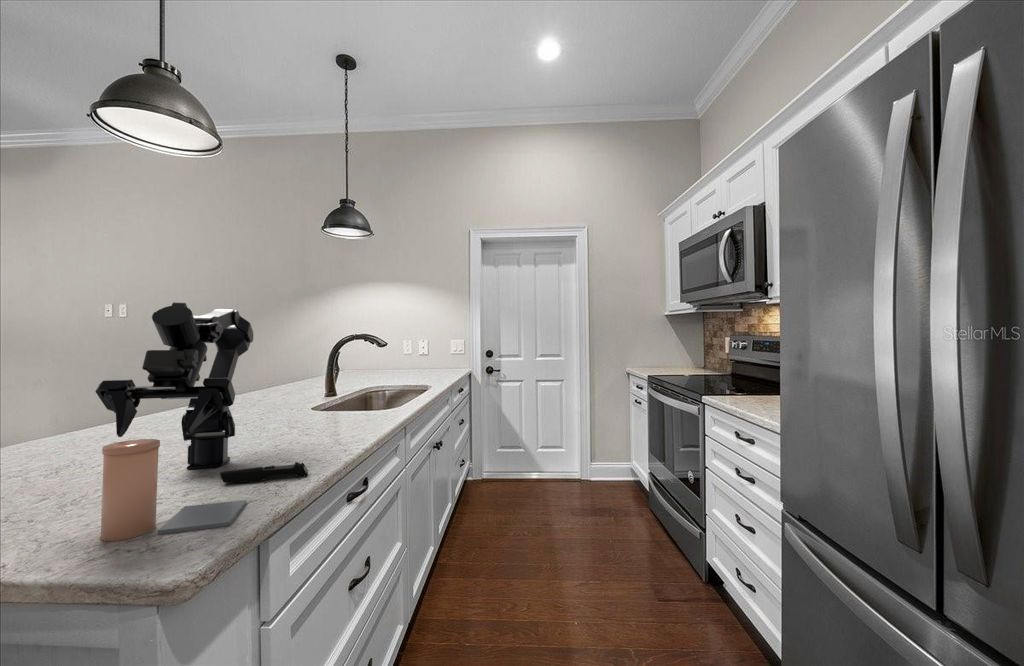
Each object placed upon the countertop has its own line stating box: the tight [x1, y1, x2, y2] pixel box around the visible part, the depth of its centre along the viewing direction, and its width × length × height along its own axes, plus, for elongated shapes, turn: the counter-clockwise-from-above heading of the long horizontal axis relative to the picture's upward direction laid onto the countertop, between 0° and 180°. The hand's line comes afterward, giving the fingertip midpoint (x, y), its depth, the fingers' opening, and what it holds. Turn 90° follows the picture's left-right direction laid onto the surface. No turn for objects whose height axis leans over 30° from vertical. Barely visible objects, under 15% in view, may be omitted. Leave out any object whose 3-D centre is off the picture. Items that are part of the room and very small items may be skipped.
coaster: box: [157, 499, 248, 535], centre depth 65 cm, size 9×9×1 cm
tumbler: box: [100, 438, 161, 542], centre depth 60 cm, size 6×6×13 cm
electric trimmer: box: [219, 461, 309, 484], centre depth 83 cm, size 4×16×3 cm, turn 114°
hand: (154, 433), depth 67 cm, fingers open, 9 cm apart
